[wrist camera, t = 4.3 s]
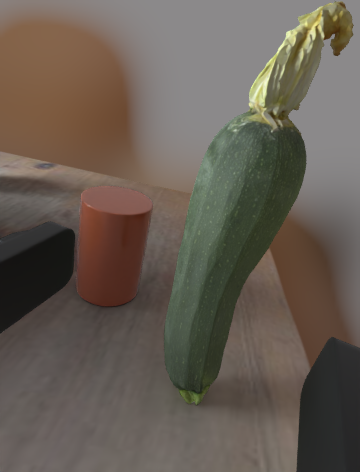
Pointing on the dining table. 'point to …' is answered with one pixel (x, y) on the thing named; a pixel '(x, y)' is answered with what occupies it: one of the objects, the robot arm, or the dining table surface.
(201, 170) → the vegetable
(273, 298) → the dining table surface
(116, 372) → the dining table surface
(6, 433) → the dining table surface
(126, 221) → the orange cylinder block
